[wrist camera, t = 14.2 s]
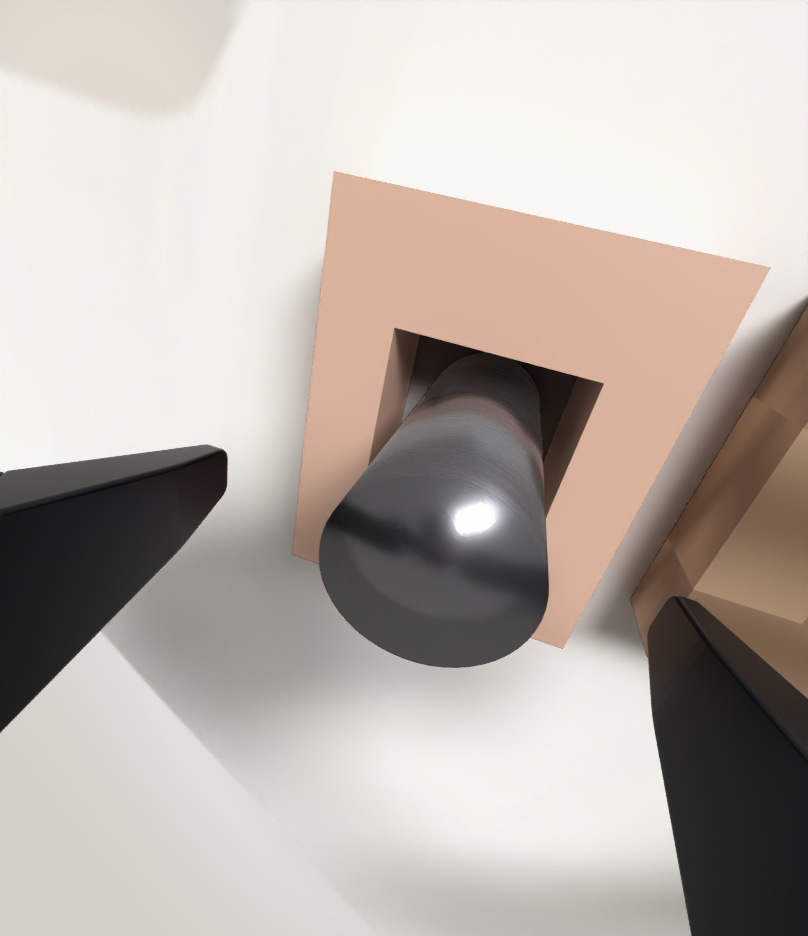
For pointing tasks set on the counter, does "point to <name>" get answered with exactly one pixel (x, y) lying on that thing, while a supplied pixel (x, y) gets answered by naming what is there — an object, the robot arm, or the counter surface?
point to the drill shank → (448, 524)
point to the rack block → (515, 353)
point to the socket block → (750, 526)
